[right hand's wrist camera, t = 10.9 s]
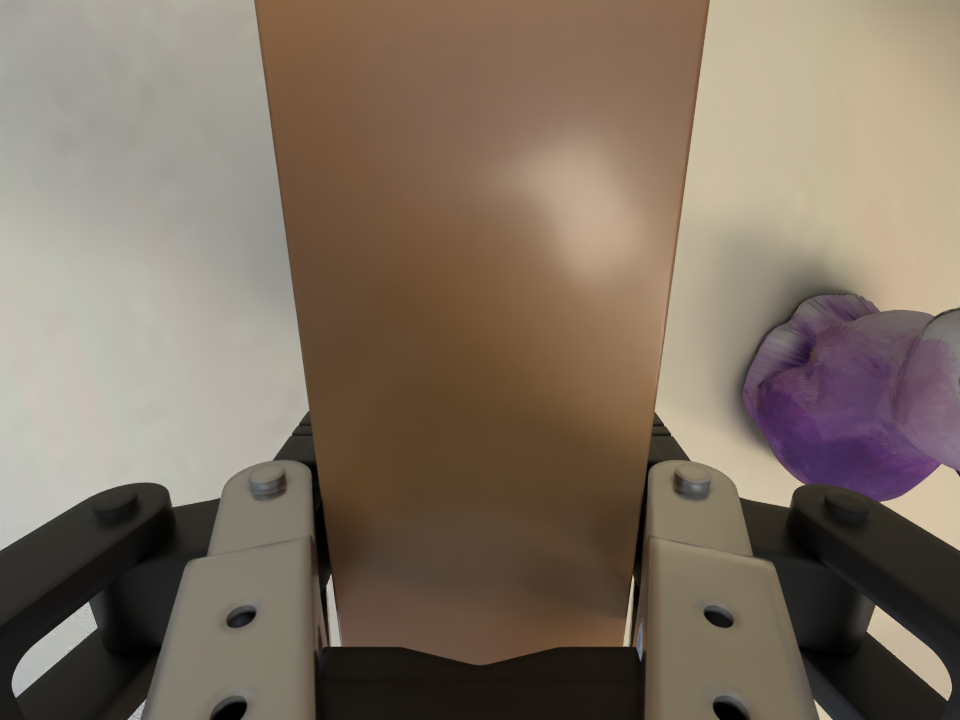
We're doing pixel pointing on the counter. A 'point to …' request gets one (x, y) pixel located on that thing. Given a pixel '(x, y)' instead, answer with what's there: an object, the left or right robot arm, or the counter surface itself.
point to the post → (482, 300)
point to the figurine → (859, 395)
